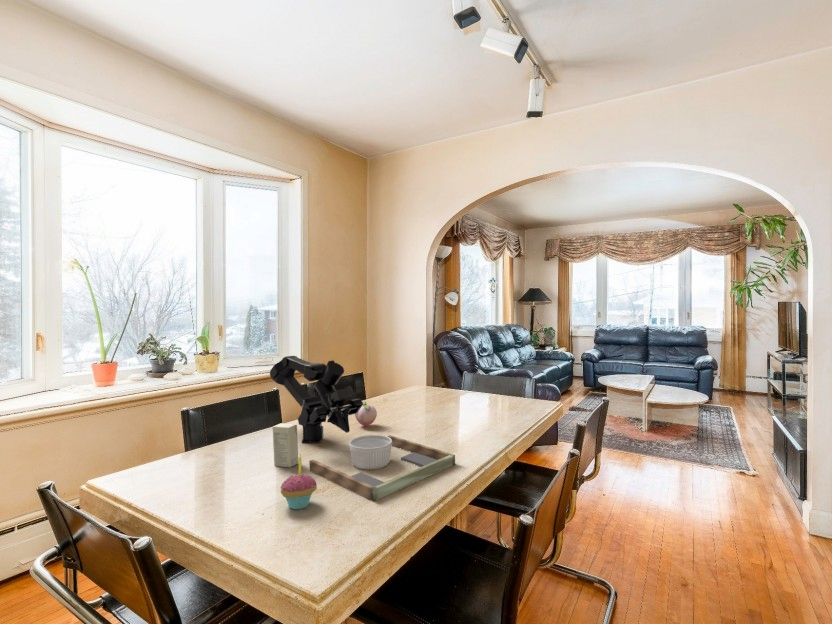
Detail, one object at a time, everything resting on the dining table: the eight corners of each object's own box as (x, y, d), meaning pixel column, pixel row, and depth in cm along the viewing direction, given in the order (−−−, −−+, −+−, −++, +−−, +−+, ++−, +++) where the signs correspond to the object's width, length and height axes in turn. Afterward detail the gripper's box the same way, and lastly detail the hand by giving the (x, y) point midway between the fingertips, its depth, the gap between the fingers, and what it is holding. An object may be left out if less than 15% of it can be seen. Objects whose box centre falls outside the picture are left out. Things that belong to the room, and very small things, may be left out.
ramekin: (341, 468, 127) (341, 445, 127) (361, 453, 139) (361, 432, 139) (381, 474, 123) (381, 450, 122) (399, 458, 135) (398, 436, 135)
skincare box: (299, 462, 132) (298, 423, 132) (290, 468, 128) (289, 427, 127) (281, 460, 134) (281, 422, 134) (272, 465, 130) (272, 426, 130)
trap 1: (344, 481, 117) (344, 478, 117) (361, 475, 122) (361, 472, 122) (367, 492, 110) (367, 489, 110) (384, 485, 115) (384, 482, 115)
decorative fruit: (381, 427, 169) (380, 402, 168) (362, 431, 164) (362, 405, 164) (369, 422, 176) (369, 398, 176) (352, 425, 172) (351, 401, 172)
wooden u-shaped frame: (309, 470, 126) (309, 460, 125) (390, 443, 149) (389, 435, 149) (373, 501, 105) (373, 489, 105) (455, 464, 129) (455, 454, 129)
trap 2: (400, 459, 133) (400, 457, 133) (414, 454, 138) (414, 452, 138) (424, 468, 126) (424, 465, 126) (437, 462, 131) (437, 459, 131)
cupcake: (285, 497, 108) (284, 451, 108) (319, 496, 109) (318, 449, 108) (277, 514, 99) (276, 463, 99) (314, 512, 100) (313, 462, 100)
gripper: (313, 383, 136) (334, 423, 128) (359, 375, 149) (380, 411, 141) (300, 404, 141) (320, 444, 134) (346, 394, 155) (366, 430, 147)
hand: (348, 431), depth 139 cm, fingers closed
